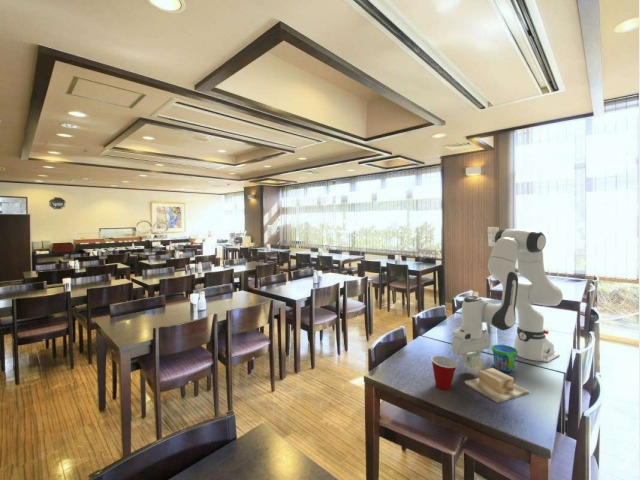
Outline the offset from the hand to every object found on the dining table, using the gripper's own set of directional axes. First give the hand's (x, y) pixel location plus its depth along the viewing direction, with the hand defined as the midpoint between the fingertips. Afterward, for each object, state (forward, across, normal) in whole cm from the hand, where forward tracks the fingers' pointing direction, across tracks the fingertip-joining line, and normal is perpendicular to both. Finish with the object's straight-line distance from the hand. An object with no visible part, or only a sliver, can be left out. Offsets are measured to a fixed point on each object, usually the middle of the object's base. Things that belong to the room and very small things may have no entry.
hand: (471, 360), depth 147 cm
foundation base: (+6, +1, +14) cm, 16 cm away
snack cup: (+7, -18, +3) cm, 19 cm away
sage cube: (+2, 0, 0) cm, 2 cm away
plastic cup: (+6, +22, +6) cm, 23 cm away
